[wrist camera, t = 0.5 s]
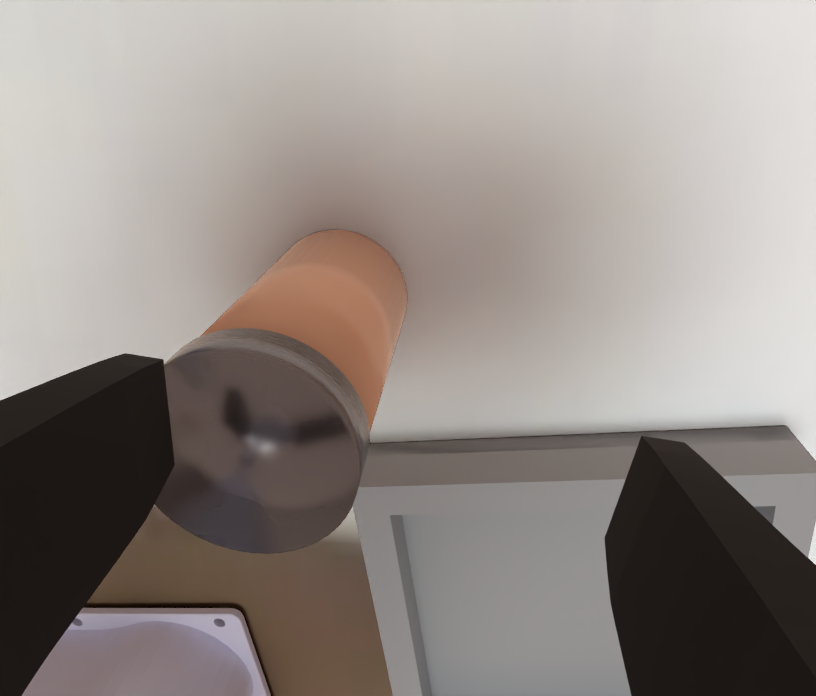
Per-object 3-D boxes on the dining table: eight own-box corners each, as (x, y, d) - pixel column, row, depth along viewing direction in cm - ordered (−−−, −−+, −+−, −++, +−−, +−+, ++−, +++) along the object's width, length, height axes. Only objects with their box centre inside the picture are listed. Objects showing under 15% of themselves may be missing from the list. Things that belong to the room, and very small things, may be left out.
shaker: (288, 362, 21) (165, 555, 13) (257, 234, 19) (89, 364, 11) (418, 354, 20) (375, 552, 12) (400, 219, 18) (335, 347, 10)
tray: (411, 697, 28) (404, 753, 26) (362, 443, 22) (349, 487, 20) (739, 706, 26) (764, 767, 23) (786, 425, 20) (825, 472, 17)
